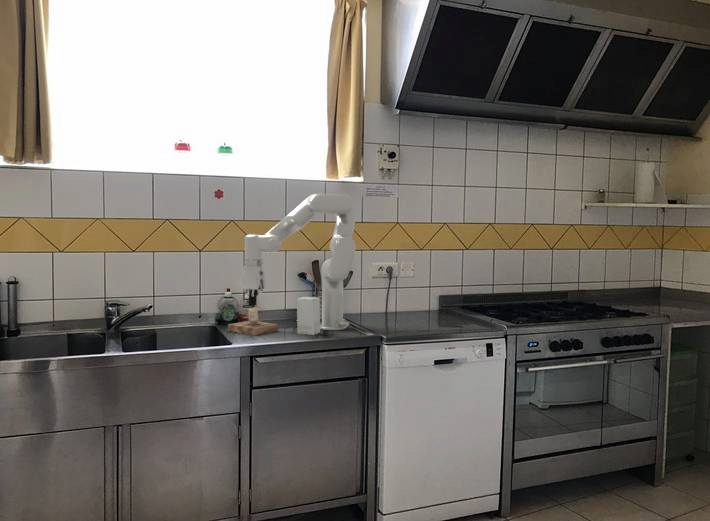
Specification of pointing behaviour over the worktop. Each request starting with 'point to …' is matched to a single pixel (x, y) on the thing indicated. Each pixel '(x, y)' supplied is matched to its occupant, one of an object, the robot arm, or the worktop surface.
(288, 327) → the worktop surface
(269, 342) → the worktop surface
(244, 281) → the robot arm
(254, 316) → the beech peg
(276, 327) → the wooden square frame
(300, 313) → the skincare box
